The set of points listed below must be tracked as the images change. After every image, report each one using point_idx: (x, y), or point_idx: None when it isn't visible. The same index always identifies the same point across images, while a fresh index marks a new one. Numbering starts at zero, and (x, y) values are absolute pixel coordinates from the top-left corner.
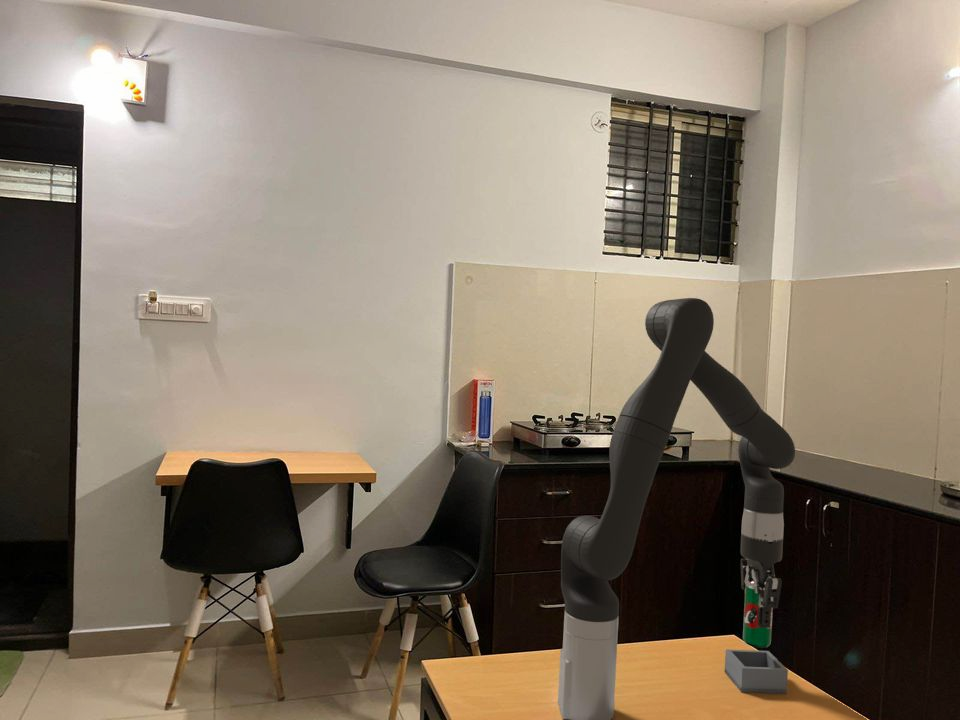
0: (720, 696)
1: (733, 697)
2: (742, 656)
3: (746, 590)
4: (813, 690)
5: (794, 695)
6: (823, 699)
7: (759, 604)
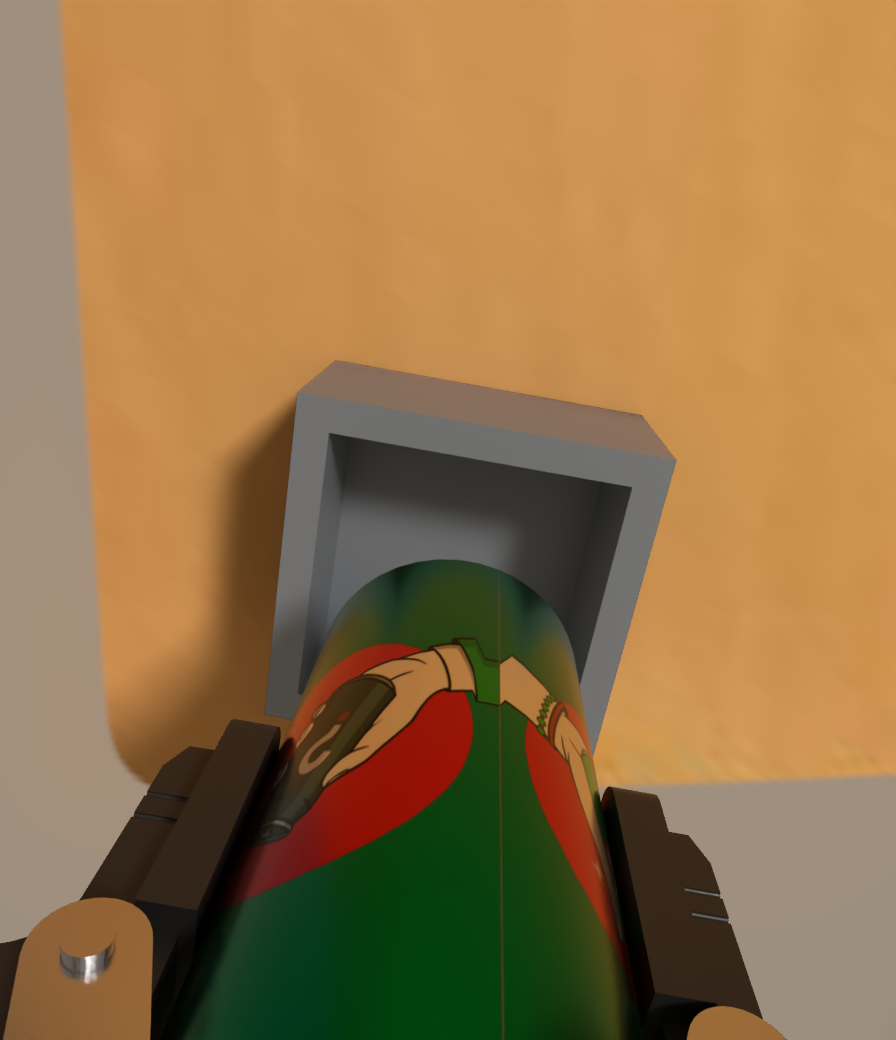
0: (282, 168)
1: (266, 261)
2: (603, 562)
3: None
4: None
5: None
6: None
7: (61, 935)
